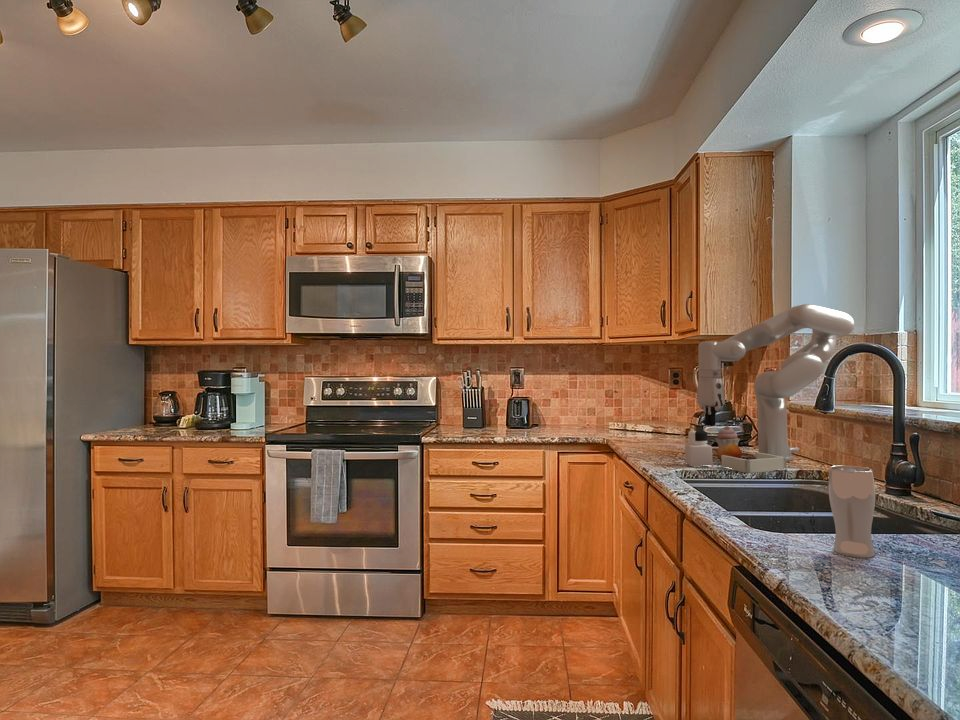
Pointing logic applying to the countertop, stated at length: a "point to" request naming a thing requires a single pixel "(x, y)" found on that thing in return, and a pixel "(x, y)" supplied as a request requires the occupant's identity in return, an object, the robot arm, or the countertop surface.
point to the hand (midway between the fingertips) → (710, 425)
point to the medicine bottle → (698, 449)
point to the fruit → (729, 451)
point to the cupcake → (727, 437)
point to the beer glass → (852, 509)
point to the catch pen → (755, 463)
